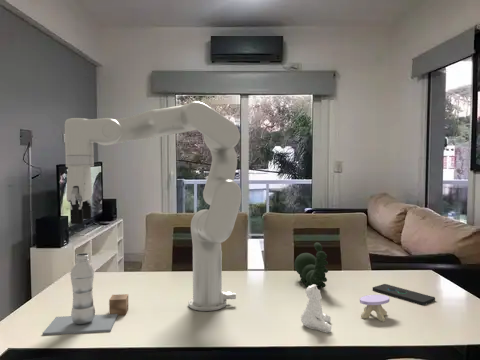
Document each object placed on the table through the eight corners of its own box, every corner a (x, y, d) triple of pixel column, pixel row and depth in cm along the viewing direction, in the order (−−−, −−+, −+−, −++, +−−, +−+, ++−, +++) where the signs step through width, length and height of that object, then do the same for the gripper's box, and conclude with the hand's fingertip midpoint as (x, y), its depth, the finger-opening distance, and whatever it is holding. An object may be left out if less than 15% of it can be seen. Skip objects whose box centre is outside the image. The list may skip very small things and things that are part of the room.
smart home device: (385, 283, 156) (436, 297, 140) (385, 287, 156) (436, 302, 140) (371, 287, 151) (422, 301, 135) (371, 291, 151) (422, 307, 135)
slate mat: (117, 315, 126) (117, 313, 126) (110, 331, 114) (110, 329, 114) (56, 318, 124) (56, 316, 124) (42, 335, 112) (42, 333, 112)
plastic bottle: (100, 319, 121) (99, 252, 120) (84, 328, 115) (83, 257, 114) (82, 317, 123) (81, 251, 123) (65, 325, 117) (64, 256, 116)
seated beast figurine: (331, 333, 113) (332, 290, 112) (300, 331, 114) (300, 289, 114) (330, 320, 122) (330, 281, 121) (301, 319, 123) (301, 279, 123)
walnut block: (128, 309, 132) (128, 294, 132) (126, 315, 127) (125, 299, 127) (112, 310, 131) (112, 294, 131) (109, 315, 126) (109, 299, 126)
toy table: (382, 310, 131) (382, 292, 130) (397, 321, 122) (397, 302, 122) (353, 312, 129) (353, 294, 129) (366, 323, 120) (366, 303, 120)
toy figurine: (333, 297, 149) (310, 273, 173) (335, 246, 146) (311, 229, 171) (308, 298, 147) (288, 274, 172) (310, 247, 145) (290, 230, 169)
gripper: (74, 162, 125) (75, 217, 126) (56, 161, 108) (58, 226, 109) (99, 161, 126) (101, 217, 127) (86, 161, 109) (87, 225, 110)
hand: (81, 221), depth 118 cm, fingers open, 9 cm apart
